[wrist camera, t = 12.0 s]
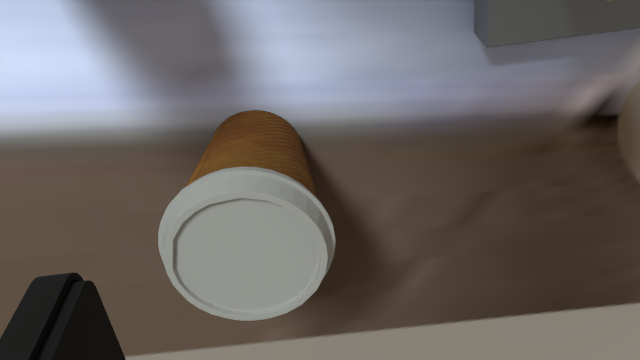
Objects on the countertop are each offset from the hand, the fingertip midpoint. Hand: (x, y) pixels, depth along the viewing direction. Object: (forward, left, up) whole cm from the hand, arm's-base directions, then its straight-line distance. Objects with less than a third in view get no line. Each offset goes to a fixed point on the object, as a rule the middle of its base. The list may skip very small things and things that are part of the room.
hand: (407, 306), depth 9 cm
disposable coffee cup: (+13, -6, -31) cm, 34 cm away
